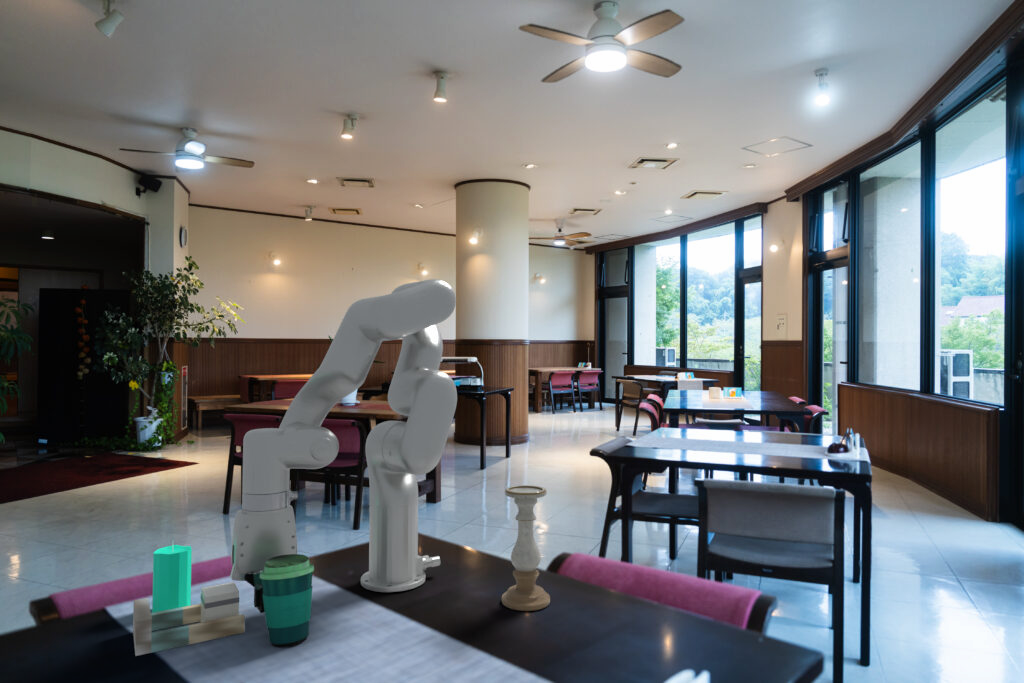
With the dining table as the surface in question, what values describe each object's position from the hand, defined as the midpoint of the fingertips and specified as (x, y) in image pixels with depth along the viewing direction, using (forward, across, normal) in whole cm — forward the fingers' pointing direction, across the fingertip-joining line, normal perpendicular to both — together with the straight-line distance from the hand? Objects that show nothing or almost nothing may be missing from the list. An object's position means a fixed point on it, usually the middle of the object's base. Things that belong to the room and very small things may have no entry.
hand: (264, 609), depth 106 cm
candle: (+1, +13, -12) cm, 18 cm away
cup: (+1, -1, +10) cm, 11 cm away
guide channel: (+1, +11, 0) cm, 11 cm away
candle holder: (+1, -41, +19) cm, 45 cm away
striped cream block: (+1, +7, 0) cm, 7 cm away
